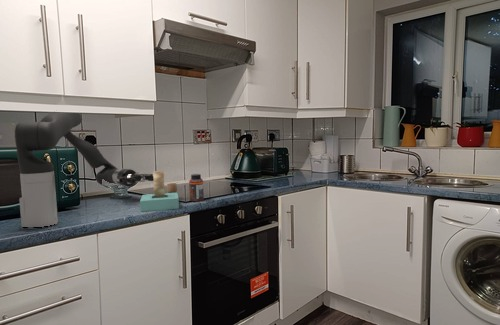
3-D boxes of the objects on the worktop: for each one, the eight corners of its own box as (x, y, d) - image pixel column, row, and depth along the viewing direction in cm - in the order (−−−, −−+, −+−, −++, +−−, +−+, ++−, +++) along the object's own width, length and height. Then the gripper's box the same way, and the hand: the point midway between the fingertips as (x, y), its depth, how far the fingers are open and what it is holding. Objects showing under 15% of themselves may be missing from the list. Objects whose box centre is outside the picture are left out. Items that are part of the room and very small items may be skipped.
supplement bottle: (187, 200, 143) (185, 174, 142) (198, 198, 147) (197, 173, 146) (195, 202, 139) (194, 175, 138) (206, 200, 143) (205, 174, 142)
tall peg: (154, 207, 130) (152, 172, 129) (155, 205, 134) (153, 171, 133) (165, 207, 131) (163, 171, 130) (165, 205, 135) (163, 170, 134)
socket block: (140, 211, 124) (140, 201, 124) (143, 204, 138) (142, 194, 137) (179, 208, 127) (178, 198, 127) (177, 201, 141) (177, 192, 141)
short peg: (168, 200, 144) (167, 184, 143) (167, 199, 148) (167, 183, 147) (177, 200, 145) (176, 184, 144) (177, 198, 149) (176, 183, 148)
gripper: (108, 170, 144) (128, 172, 133) (138, 167, 154) (158, 169, 144) (109, 187, 144) (129, 191, 134) (139, 183, 155) (159, 186, 144)
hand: (144, 179), depth 139 cm, fingers open, 8 cm apart
